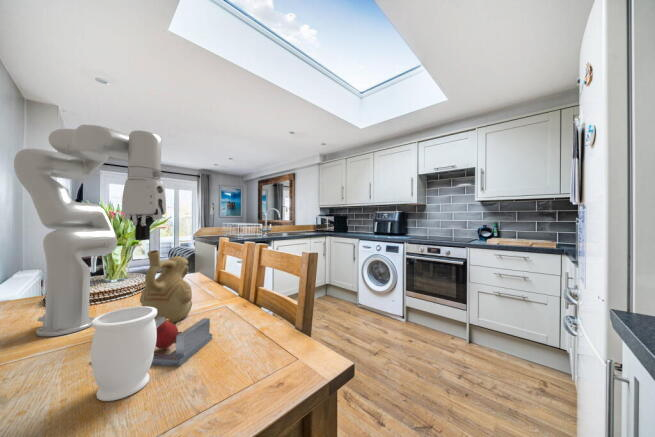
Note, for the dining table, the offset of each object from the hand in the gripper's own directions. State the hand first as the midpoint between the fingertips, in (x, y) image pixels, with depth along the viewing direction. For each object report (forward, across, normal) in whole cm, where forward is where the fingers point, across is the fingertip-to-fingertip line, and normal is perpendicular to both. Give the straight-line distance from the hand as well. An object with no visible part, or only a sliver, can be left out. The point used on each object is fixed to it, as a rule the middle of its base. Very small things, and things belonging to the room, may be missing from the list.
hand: (142, 239), depth 69 cm
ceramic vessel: (+29, +5, -16) cm, 34 cm away
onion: (+29, -10, +2) cm, 31 cm away
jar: (+29, -13, +17) cm, 36 cm away
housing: (+29, -8, +2) cm, 30 cm away
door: (+28, -4, +3) cm, 28 cm away
